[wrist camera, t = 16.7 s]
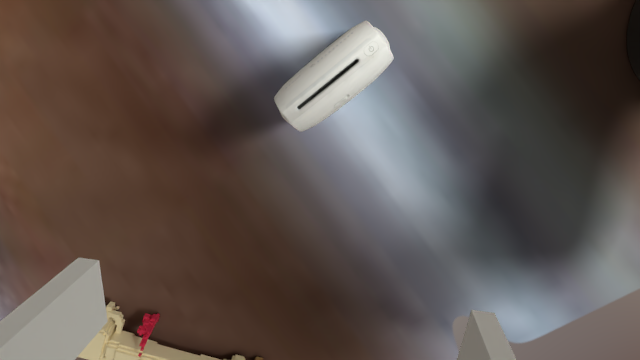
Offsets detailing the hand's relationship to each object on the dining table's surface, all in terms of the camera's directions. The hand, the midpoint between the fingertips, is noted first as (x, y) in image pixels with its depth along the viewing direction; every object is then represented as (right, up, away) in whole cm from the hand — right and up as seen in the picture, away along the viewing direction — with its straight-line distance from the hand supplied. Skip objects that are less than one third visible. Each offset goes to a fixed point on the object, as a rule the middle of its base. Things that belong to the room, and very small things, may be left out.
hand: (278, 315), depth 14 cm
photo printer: (+3, +16, +26) cm, 31 cm away
